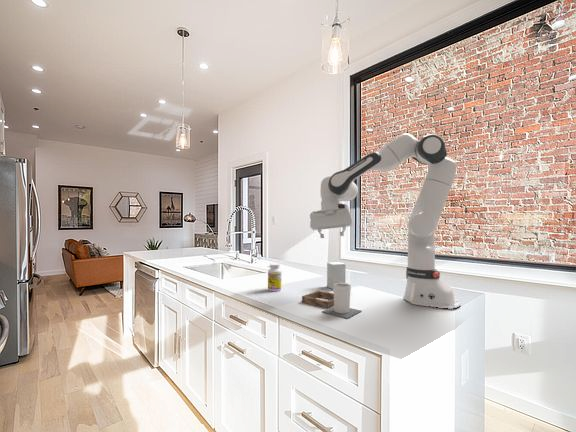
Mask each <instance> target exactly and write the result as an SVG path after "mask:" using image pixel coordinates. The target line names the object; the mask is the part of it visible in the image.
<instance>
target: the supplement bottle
mask: <svg viewBox="0 0 576 432" xmlns="http://www.w3.org/2000/svg"><path fill="white" fill-rule="evenodd" d="M280 266H281V265H280V263H277V262H275V263H270V264H269V269H268V270H267V290H268V291H270V292H279V291H281V290H282V269H280Z"/></svg>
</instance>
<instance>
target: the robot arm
mask: <svg viewBox="0 0 576 432" xmlns="http://www.w3.org/2000/svg"><path fill="white" fill-rule="evenodd" d="M446 147H447V146H446V143H445V141H444V139H443V137H441V136H440V135H439V134H434V133H430V134H426V135H424V136H422V137H421V139H417V138H415V137H414V136H413V135H412V134H410V133H405V132H404V133H402V134H400V135H399V136H397V137H395V138H393V139H392V140H390V141H389V142H387V143H386V144H384V146H382V147H381V148H379V149H378V150H376V151H374V152H370V153H368V154H366V155H365V156H363V157H362V158H360V159H359V160H357V161H356V162H354V163H353V164H351V165H349V166H348V167H346V168H345V169H342V170H339V171H337V172H335V173H333V174H331V176H327V177H324V178H323V179H322V180H321V183H320V198H321V201H320V206H321V207H320V208H321V209H319V210H316V211H315V210H314V211H312V212H310V214H309V219H310V222H309V227H310V229H311V230H312V231H317V232H318V233H319V235H320V236H319V237H320V239H325V233H322V232H323V230H328V229H338V228H342V231H339V235H340V237H344V236H345V232H346V230H347V227H352V226H354V219H353V215H352V213H351V211H350V207H349V205H348V204H345V203H340V202H350V201H353V200H355V198H356V197H357V196H358V195H359V188H358V185H357V184H356V183H355V182H354V181H355V180H357V179H358V178H360V177H361V176H362V175H364V174H366V173H367V172H369V171H373V170H375V171H380V172H390V171H392V170H395V169H396V168H397V167H398V166H400V165H401V164H403V163H404V162H405V161H406V160H408V159H410V158H411V159H412V160H414V161H416V162H418V163H420V164H421V165H426V166H427V167H428V168H427V169H428V170H427V174H426V176H425V179H424V181H423V183H422V185H421V189H420V191H419V193H418V196H417V199H416V201H415V204H414V206H413V208H412V211H411V214H410V216H409V219H408V222H407V225H408V226H407V227H408V229H407V231H408V232H407V235H408V236H407V266H406V270H405V271H406V272H405V279H406V285H405V290H404V295H403V298H402V299H403V300H405V301H407V302H409V303H410V304H412V305H414V306H415V305H416V306H422V307H423V306H424V307H429V306H430V307H429V308H436V307H438V309H443V308H448V309H447V310H451V309H452V308H456V307H459V306H460V307H461V305H460V304H461V301H459V300H458V299H456V298H455V293H454V290H453V288H452V287H450V285H449V284H447V283H446V282H444V280H443V279H441V278H440V275H441V271H440V270H438V269H436V263H435V262H436V247H435V246H436V245H435V244H436V243H435V241H436V239H435V232H436V229H437V226H438V224H439V220H440V218H441V215H442V212H443V209H444V206H445V204H446V202H447V199H448V197H449V194H450V191H451V189H452V186H453V185H454V184H453V183H454V181H455V178H456V177H455V176H456V173H457V167H458V165H457V163H456V161H455V160H453V159H451V158H450V157H447V156H448V153H447V148H446ZM460 307H459V308H460ZM452 310H453V309H452Z"/></svg>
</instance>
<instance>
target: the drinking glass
mask: <svg viewBox="0 0 576 432" xmlns="http://www.w3.org/2000/svg"><path fill="white" fill-rule="evenodd" d="M351 287H352V285H351V284H350V283H346V282H345V283H335V284H334V289H333V293H334V311H335V312H338V313H348V312H349V308H351V290H352V289H351Z"/></svg>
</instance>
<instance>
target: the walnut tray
mask: <svg viewBox="0 0 576 432" xmlns="http://www.w3.org/2000/svg"><path fill="white" fill-rule="evenodd" d="M320 298H323V299H320ZM324 299H328V300H324ZM301 302H302V303H305V304H309V305H314V306H317V307H322V308H325V309H329V308H331V307H333V306H334V292H329V291H324V290H316V291H314V292H310V293H308V294H305V295H302V296H301Z"/></svg>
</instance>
